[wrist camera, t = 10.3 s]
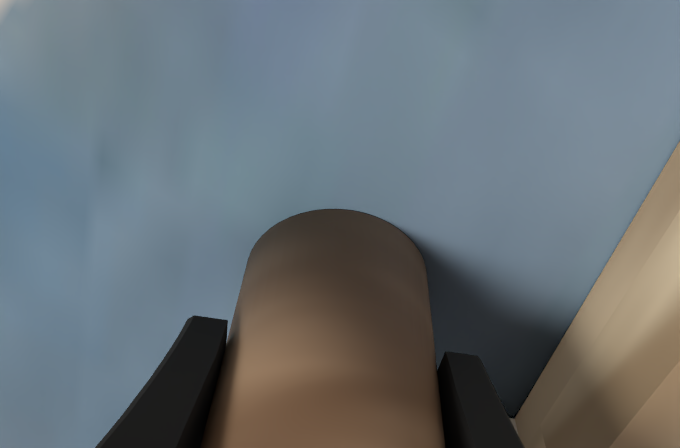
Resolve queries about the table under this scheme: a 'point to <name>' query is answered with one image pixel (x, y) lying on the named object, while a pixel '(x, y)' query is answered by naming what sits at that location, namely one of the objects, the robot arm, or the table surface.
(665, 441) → the socket block
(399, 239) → the dowel
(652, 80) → the table surface
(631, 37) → the table surface
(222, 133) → the table surface
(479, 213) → the table surface
